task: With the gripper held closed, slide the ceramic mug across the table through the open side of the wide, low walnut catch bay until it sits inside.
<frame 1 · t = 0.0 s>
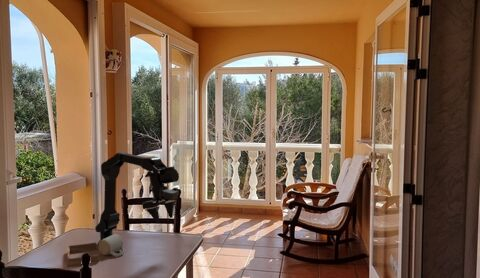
hand: (164, 220, 168), 15 cm above the table, tool pointing down, fingers open, 9 cm apart
catch bay: (82, 257, 166), on the table
ceramic mug: (113, 254, 171), on the table
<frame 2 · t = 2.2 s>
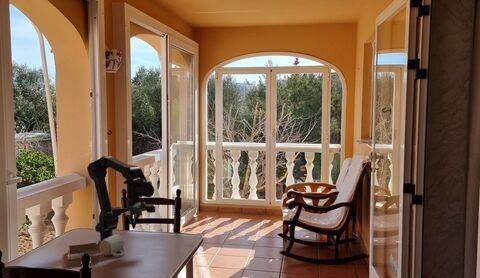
hand: (133, 228, 174), 10 cm above the table, tool pointing down, fingers closed
nothing on the table moved.
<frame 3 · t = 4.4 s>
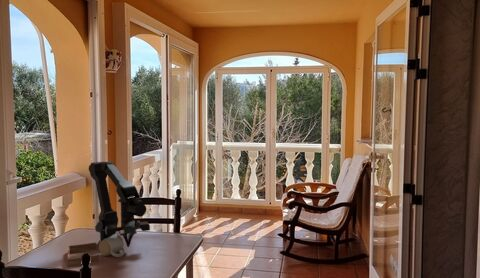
hand: (128, 246, 173), 2 cm above the table, tool pointing down, fingers closed
ceramic mug: (113, 254, 170), on the table, touching gripper
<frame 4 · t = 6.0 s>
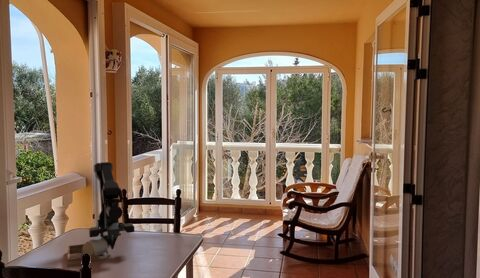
hand: (112, 248, 170), 2 cm above the table, tool pointing down, fingers closed
ceramic mug: (97, 256, 167), on the table, touching gripper
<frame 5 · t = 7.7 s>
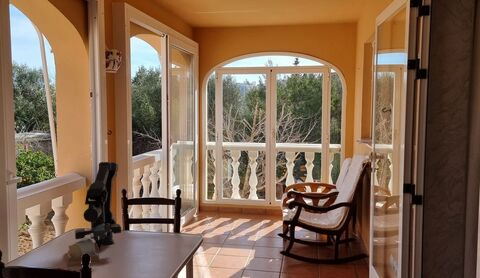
hand: (99, 250, 168), 2 cm above the table, tool pointing down, fingers closed
ceramic mug: (84, 258, 164), on the table, touching catch bay, gripper
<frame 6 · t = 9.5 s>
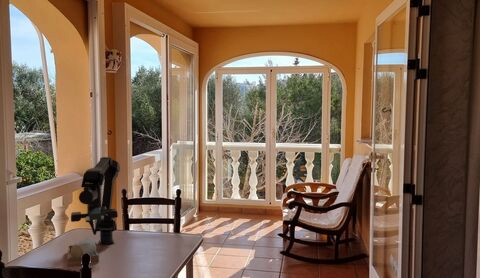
hand: (94, 234, 167), 9 cm above the table, tool pointing down, fingers closed
ceramic mug: (86, 258, 165), on the table
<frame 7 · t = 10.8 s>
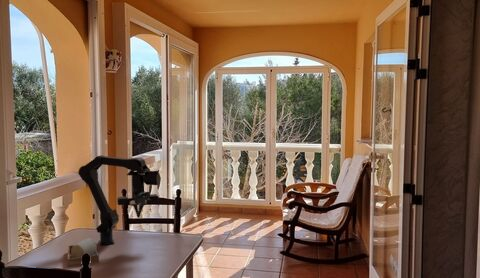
hand: (138, 217, 182), 13 cm above the table, tool pointing down, fingers closed
nothing on the table moved.
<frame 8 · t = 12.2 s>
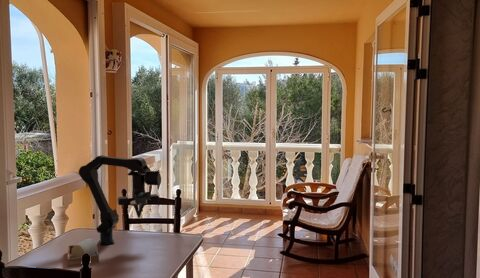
hand: (138, 217, 182), 13 cm above the table, tool pointing down, fingers closed
nothing on the table moved.
at the end: ceramic mug 3.5 cm from the target spot on the catch bay, point 0.0 cm above the catch bay's base; ceramic mug tilted 0° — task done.
